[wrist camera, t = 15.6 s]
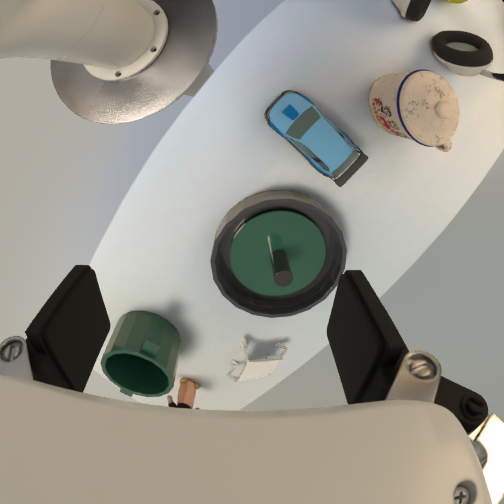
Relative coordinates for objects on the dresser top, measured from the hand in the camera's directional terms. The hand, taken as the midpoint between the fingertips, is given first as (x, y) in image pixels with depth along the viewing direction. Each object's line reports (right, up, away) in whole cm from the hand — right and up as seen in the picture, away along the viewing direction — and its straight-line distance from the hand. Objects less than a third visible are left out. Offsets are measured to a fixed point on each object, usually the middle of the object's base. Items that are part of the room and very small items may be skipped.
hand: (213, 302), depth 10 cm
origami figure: (+1, -17, +41) cm, 45 cm away
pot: (-18, -14, +39) cm, 45 cm away
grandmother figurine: (-12, -26, +46) cm, 54 cm away
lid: (+5, +1, +30) cm, 31 cm away
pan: (+5, +2, +31) cm, 32 cm away
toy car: (+9, +17, +24) cm, 30 cm away
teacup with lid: (+22, +21, +22) cm, 37 cm away
